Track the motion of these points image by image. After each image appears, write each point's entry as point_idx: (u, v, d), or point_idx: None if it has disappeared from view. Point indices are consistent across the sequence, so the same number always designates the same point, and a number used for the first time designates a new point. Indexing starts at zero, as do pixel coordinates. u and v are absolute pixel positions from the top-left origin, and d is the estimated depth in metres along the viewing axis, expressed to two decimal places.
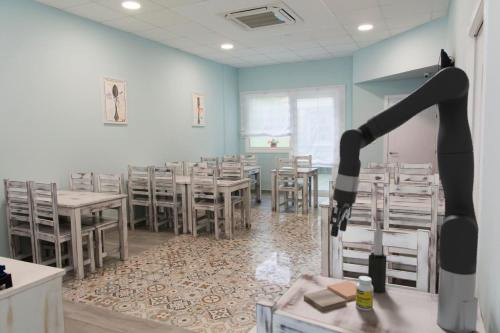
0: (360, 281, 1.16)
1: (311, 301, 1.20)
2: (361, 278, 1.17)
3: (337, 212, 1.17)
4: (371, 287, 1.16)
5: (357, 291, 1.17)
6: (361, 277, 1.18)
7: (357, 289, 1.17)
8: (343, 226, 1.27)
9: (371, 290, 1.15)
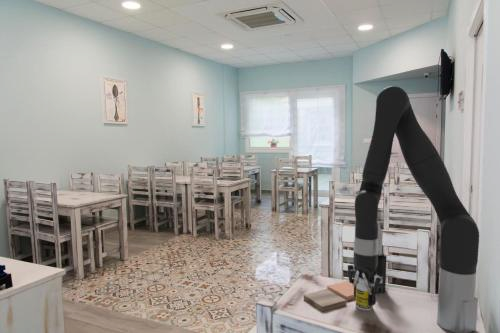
0: (360, 281, 1.16)
1: (311, 301, 1.20)
2: (361, 278, 1.17)
3: (382, 282, 1.11)
4: (371, 287, 1.16)
5: (357, 291, 1.17)
6: None
7: (357, 289, 1.17)
8: None
9: None
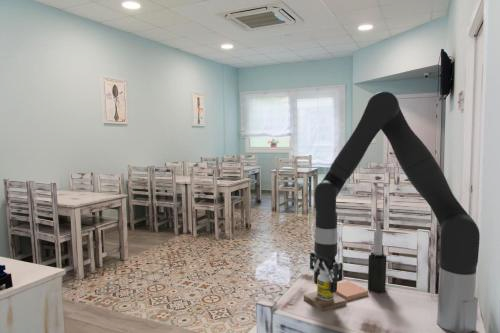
0: (321, 272, 1.20)
1: (311, 301, 1.20)
2: (322, 269, 1.20)
3: (341, 268, 1.15)
4: None
5: (318, 282, 1.20)
6: None
7: (318, 280, 1.20)
8: None
9: None
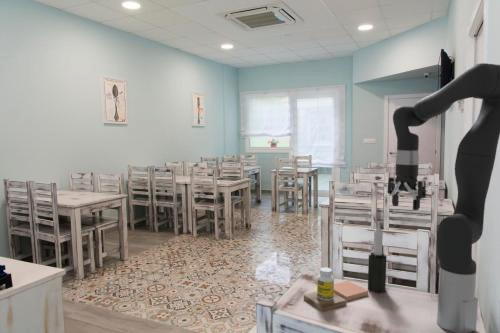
0: (321, 272, 1.20)
1: (311, 301, 1.20)
2: (322, 269, 1.20)
3: (424, 185, 1.23)
4: (331, 278, 1.19)
5: (318, 282, 1.20)
6: (322, 268, 1.21)
7: (318, 280, 1.20)
8: (396, 201, 1.33)
9: (331, 281, 1.19)
